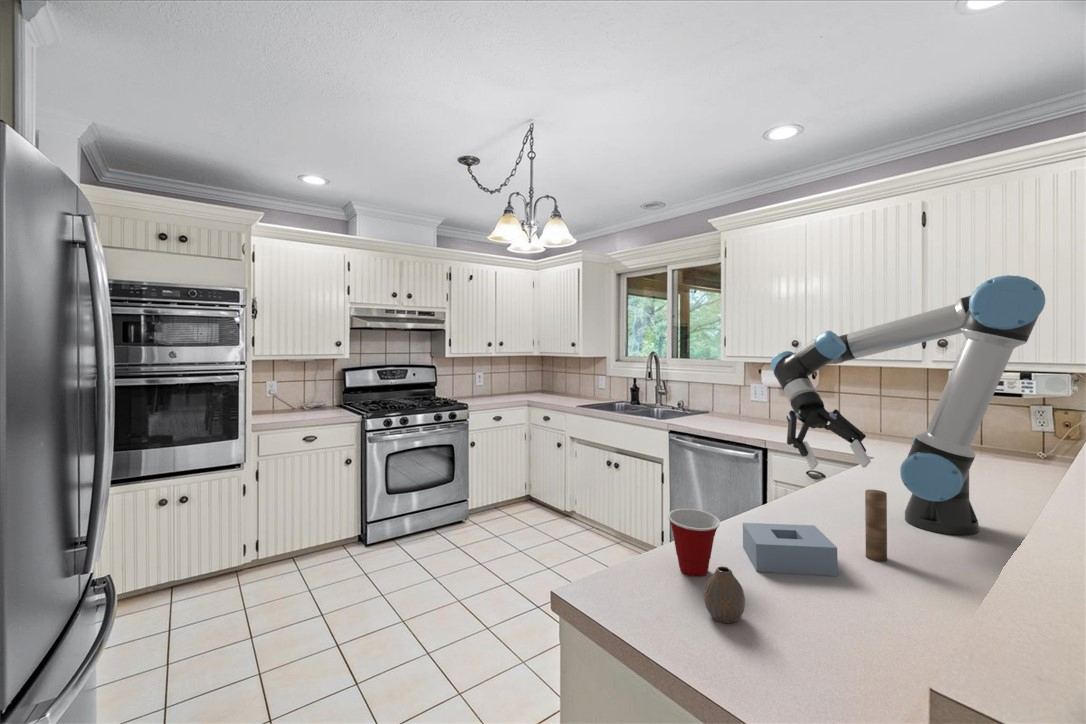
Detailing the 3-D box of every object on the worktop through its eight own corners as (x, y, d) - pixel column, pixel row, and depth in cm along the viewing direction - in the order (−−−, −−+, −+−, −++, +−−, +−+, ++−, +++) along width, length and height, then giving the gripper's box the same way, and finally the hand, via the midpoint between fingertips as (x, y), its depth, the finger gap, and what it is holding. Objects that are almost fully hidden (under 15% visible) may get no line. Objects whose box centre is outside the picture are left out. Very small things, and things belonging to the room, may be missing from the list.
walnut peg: (881, 554, 112) (881, 489, 112) (890, 562, 108) (890, 495, 108) (862, 553, 113) (862, 489, 112) (870, 561, 109) (870, 494, 108)
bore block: (814, 550, 115) (814, 525, 115) (837, 576, 102) (837, 547, 102) (742, 547, 118) (742, 522, 118) (756, 571, 105) (756, 543, 105)
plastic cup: (699, 588, 98) (699, 529, 98) (658, 569, 107) (657, 515, 107) (731, 573, 105) (730, 517, 104) (690, 556, 114) (689, 505, 113)
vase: (749, 630, 84) (748, 579, 84) (706, 626, 85) (706, 576, 85) (741, 608, 90) (740, 562, 90) (702, 605, 92) (701, 559, 92)
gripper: (839, 406, 139) (879, 471, 125) (755, 408, 137) (786, 475, 123) (853, 389, 134) (896, 455, 119) (765, 391, 132) (799, 459, 117)
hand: (840, 465), depth 121 cm, fingers open, 13 cm apart
